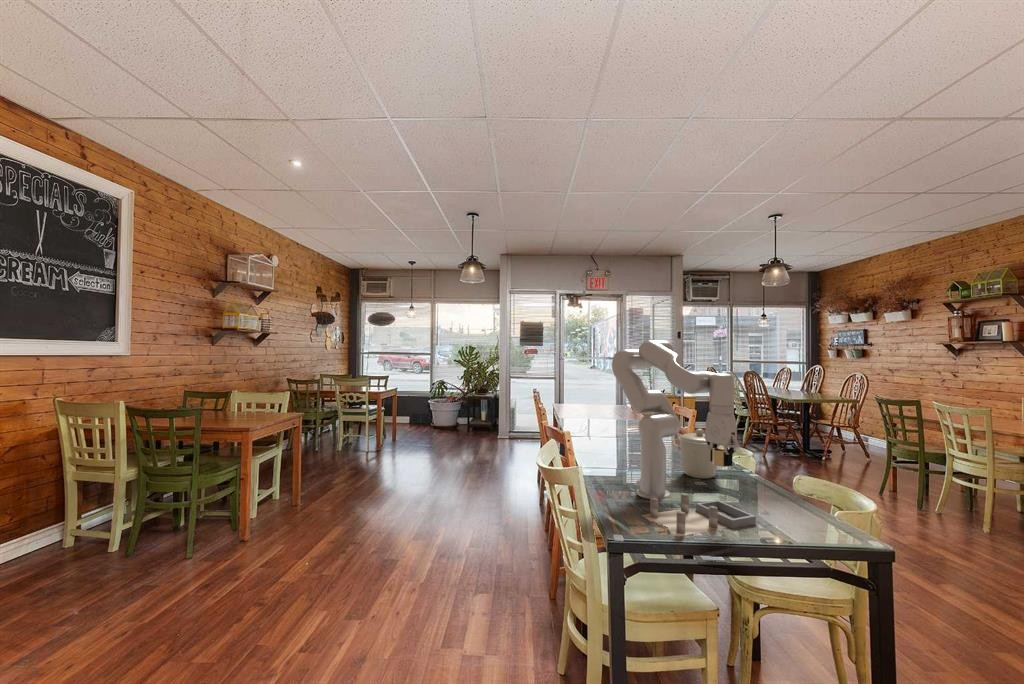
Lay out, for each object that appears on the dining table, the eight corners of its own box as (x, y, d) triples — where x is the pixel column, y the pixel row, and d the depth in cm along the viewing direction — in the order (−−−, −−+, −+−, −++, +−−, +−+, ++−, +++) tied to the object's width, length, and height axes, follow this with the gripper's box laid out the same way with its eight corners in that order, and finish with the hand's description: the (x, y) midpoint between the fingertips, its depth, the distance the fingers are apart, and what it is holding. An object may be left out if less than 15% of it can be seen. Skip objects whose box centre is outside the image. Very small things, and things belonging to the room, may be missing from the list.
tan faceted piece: (708, 463, 158) (708, 448, 158) (722, 461, 160) (722, 447, 160) (719, 467, 153) (720, 452, 153) (734, 465, 155) (734, 450, 155)
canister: (695, 483, 197) (695, 433, 196) (669, 471, 214) (670, 426, 214) (730, 479, 202) (731, 431, 201) (702, 468, 219) (703, 424, 219)
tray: (695, 513, 163) (696, 503, 163) (717, 509, 167) (718, 500, 167) (732, 531, 148) (732, 520, 148) (755, 526, 152) (755, 516, 152)
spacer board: (641, 518, 158) (641, 497, 158) (687, 510, 165) (687, 491, 165) (677, 539, 142) (677, 517, 141) (727, 530, 149) (727, 508, 149)
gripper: (694, 407, 163) (694, 458, 163) (732, 414, 147) (732, 471, 147) (711, 406, 166) (711, 456, 166) (750, 413, 150) (750, 469, 150)
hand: (721, 463), depth 157 cm, fingers closed on tan faceted piece, 5 cm apart
